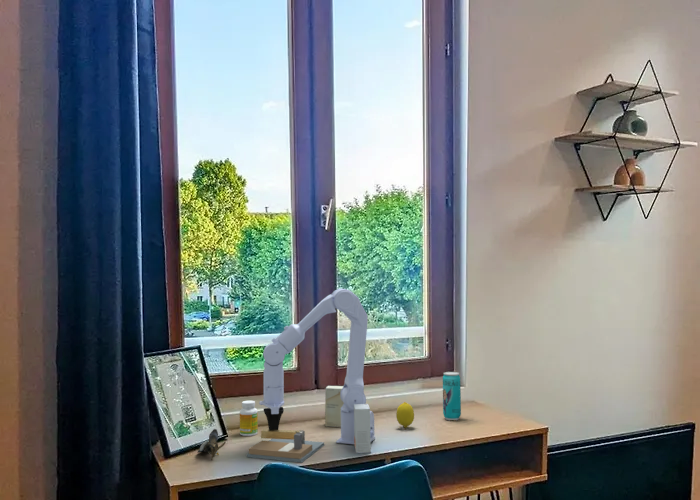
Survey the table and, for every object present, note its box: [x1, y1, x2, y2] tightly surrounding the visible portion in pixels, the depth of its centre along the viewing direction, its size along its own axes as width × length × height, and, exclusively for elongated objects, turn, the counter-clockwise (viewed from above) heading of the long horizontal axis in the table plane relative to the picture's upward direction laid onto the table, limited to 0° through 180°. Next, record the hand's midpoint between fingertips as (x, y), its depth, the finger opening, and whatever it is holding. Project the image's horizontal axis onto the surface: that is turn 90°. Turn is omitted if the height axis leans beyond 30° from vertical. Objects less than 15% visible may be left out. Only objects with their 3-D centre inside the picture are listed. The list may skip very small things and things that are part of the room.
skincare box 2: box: [353, 403, 372, 454], centre depth 169 cm, size 6×4×12 cm
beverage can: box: [442, 371, 462, 421], centre depth 202 cm, size 6×6×15 cm
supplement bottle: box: [239, 400, 259, 437], centre depth 187 cm, size 5×5×10 cm
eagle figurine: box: [196, 428, 226, 461], centre depth 166 cm, size 8×7×9 cm
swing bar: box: [260, 428, 306, 444], centre depth 172 cm, size 12×3×4 cm, turn 80°
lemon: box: [396, 401, 415, 429], centre depth 191 cm, size 6×6×8 cm
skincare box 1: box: [324, 385, 344, 428], centre depth 196 cm, size 6×4×12 cm
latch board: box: [246, 433, 325, 463], centre depth 169 cm, size 16×16×6 cm
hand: (273, 433), depth 175 cm, fingers closed, pressing on swing bar
